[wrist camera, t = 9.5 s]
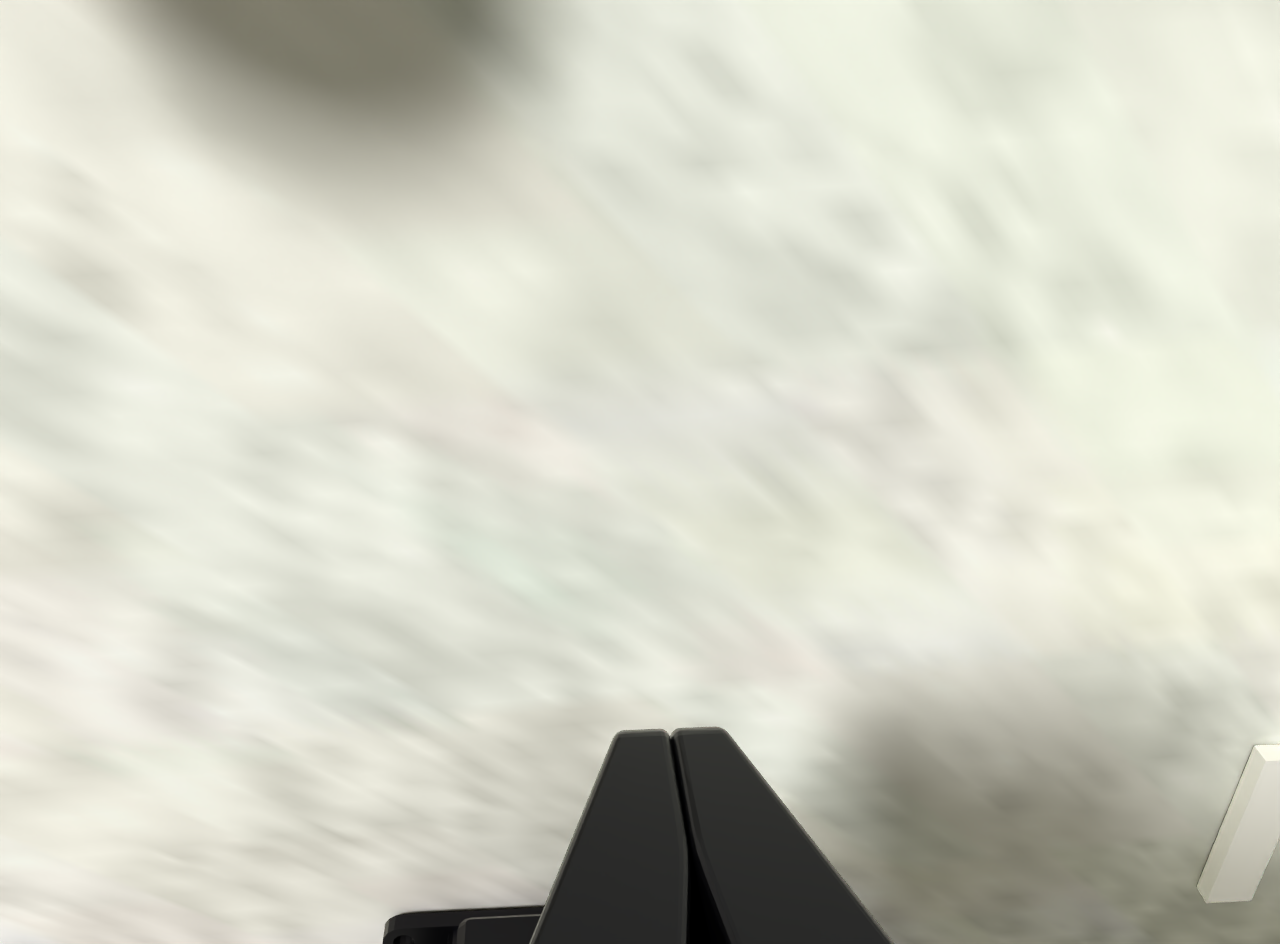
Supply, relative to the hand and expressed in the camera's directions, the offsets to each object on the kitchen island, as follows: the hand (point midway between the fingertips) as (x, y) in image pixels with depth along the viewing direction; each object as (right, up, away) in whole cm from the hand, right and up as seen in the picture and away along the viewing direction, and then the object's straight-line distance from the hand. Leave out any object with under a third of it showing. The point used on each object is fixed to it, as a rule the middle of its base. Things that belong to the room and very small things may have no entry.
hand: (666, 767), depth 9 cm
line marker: (+15, -6, +19) cm, 25 cm away
